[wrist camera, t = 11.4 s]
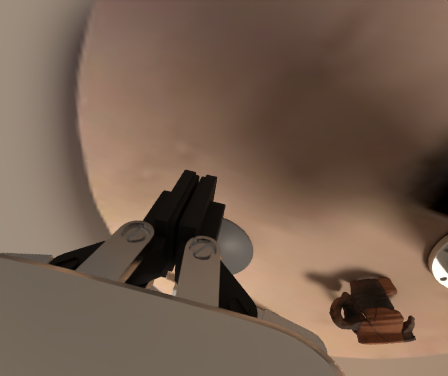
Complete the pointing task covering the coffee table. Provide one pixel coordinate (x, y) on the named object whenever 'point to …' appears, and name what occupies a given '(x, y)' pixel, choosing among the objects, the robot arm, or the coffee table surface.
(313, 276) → the coffee table surface
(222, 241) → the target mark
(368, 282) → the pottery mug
